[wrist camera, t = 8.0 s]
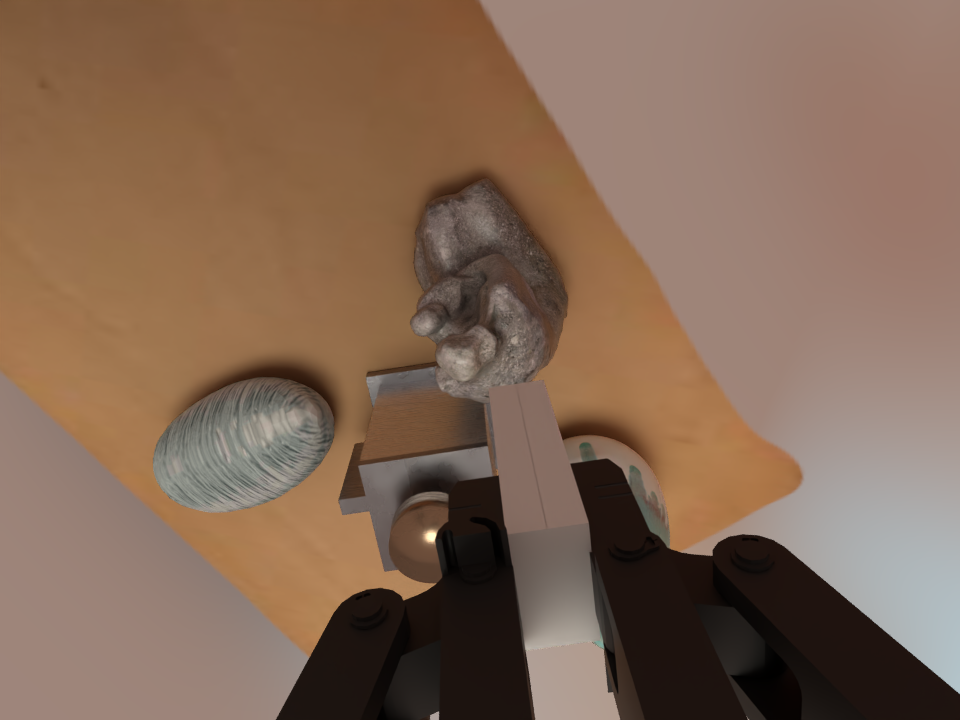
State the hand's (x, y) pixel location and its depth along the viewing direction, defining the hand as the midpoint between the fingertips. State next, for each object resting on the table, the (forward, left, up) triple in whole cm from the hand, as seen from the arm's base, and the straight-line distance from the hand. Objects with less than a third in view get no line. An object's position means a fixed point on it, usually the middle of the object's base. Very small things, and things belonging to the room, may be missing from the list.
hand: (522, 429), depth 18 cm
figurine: (+4, -1, -35) cm, 35 cm away
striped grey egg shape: (+14, -20, -35) cm, 42 cm away
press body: (+16, -6, -34) cm, 38 cm away
